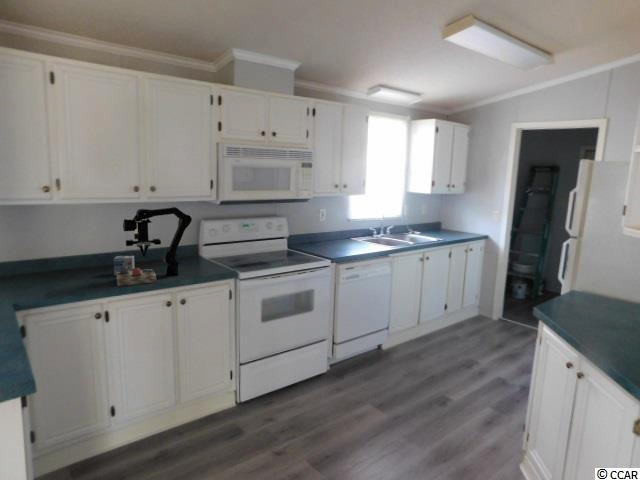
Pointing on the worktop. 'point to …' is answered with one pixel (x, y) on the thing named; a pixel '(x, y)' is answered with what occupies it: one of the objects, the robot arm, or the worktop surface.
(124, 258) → the light bulb box
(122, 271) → the grey plug
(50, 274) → the worktop surface
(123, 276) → the plug board
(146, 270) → the grey plug
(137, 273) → the red plug
